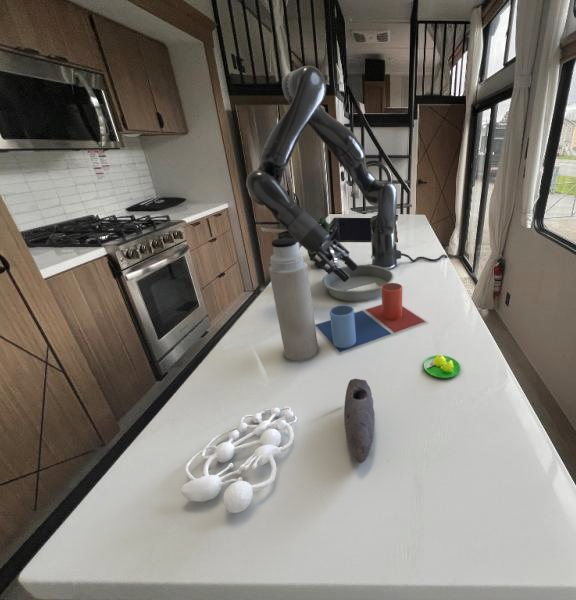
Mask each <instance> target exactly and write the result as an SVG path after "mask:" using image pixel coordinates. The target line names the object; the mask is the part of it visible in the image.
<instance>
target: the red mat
mask: <svg viewBox="0 0 576 600" xmlns="http://www.w3.org/2000/svg"><path fill="white" fill-rule="evenodd" d="M365 311H366V312H367V313H368V314H370V315H371V316H372V317H374V318H375V319H376V320H377V321H379V322H380V323H381V324H383V325H384V327H386V328H388V329H389V330H390V331H392V332H393V333H398V332H401V331H403V330H406V329H409V328H412V327H415V326H417V325H420V324H423V323H426V320H424V319H423V318H421V317H420V316H418V315H416V314H415V313H413V312H412V311H410V310H409V309H407V308H406V307H404V306H402V317H401V318H399V319H396V320H389V319H385V318H384V317H383V316H382V304H379V305H376V306H373V307H370V308H365Z"/></svg>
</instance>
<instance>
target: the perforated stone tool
mask: <svg viewBox="0 0 576 600" xmlns="http://www.w3.org/2000/svg"><path fill="white" fill-rule="evenodd" d="M345 392H346V393H345V397H344V409H343V420H344V422H343V423H344V430H345V436H346V437H345V438H346V441H347V446H348V449H349V452H350V454H351V456H352V458H353V460H355V462H356V463H357V464H359V465H361V464H363V463H364V462H365V461H366V460H367V458H368V456H369V454H370V451H371V448H372V446H373V440H374V435H375V409H374V398H373V394H372V390H371V386H370V385H369V383H368V382H367V380H366V379H360V378H353V379H349V381H348V383H347V386H346V389H345Z"/></svg>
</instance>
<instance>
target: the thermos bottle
mask: <svg viewBox="0 0 576 600" xmlns="http://www.w3.org/2000/svg"><path fill="white" fill-rule="evenodd" d="M271 246H272V251H273V254H272V255H271V256H270V258H269V259H270V261H269V262H270V264H271V265H270V266H269V267H268V273H269V277H270V283H271V288H272V294H273V300H274V304H275V310H276V314H277V318H278V319H277V321H278V324H279V330H280V336H281V342H282V346H283V352H284V356H285V358H287V359H288V360H291V361H304V360H308V359H310V358H312V357H314V356H315V355H317V353H318V351H319V345H318V344H319V343H318V337H317V331H316V330H317V329H316V323H315V315H314V307H313V301H312V293H311V285H310V277H309V271H308V264H307V262H306V261H304V256H303V253H302V252H301V251H300V252H298V251H297V246H296V239H293V238H281V239H279V238H276V239H274V240H272V241H271Z"/></svg>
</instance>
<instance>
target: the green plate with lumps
mask: <svg viewBox="0 0 576 600" xmlns="http://www.w3.org/2000/svg"><path fill="white" fill-rule="evenodd" d="M432 360H433V365H431V366H429V367H427V364H428V363H429V361H432ZM423 368H424V370H425V371H426V372H427V373H428V374H430V375H431V376H433V377H436V378H443V379H445V378H452V377H455V376H456V375H457V374H459V372H460V370H461V365H460V363H459V362H458V361H457V360H456V359H454V358H453V357H451V356H447V355H442V354H438V355H432V356H429V357H427V358H426V359H425V360H424V362H423Z"/></svg>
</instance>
